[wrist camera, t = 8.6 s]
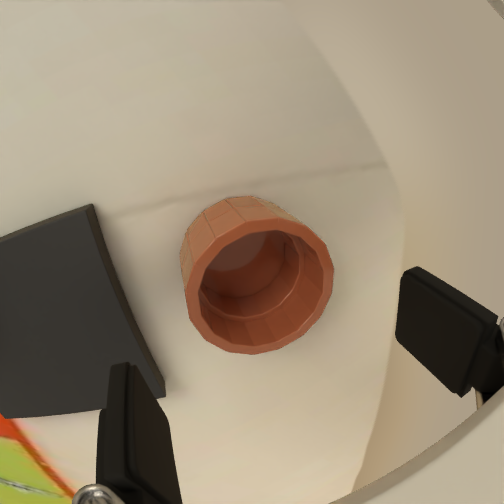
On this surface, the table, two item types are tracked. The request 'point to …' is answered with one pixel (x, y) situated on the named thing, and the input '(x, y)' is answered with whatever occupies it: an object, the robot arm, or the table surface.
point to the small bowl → (253, 275)
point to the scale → (64, 320)
